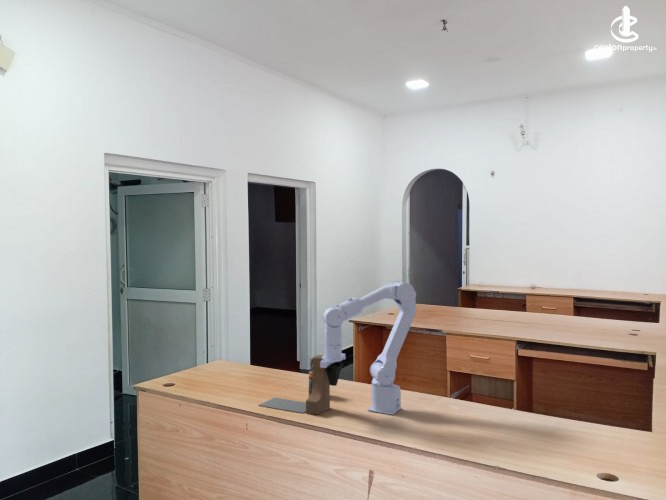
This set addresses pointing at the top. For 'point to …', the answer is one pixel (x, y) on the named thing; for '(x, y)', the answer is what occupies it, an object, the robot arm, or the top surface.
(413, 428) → the top surface
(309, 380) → the supplement bottle
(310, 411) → the wooden block
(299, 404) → the mat
